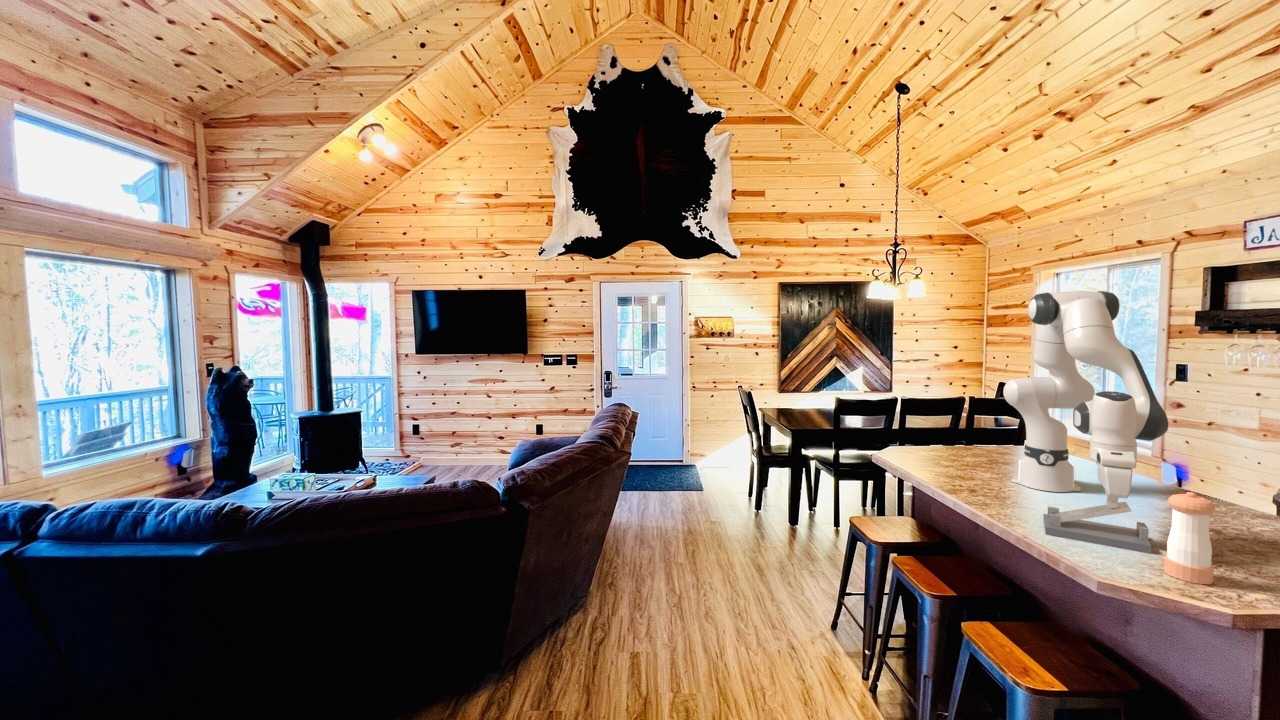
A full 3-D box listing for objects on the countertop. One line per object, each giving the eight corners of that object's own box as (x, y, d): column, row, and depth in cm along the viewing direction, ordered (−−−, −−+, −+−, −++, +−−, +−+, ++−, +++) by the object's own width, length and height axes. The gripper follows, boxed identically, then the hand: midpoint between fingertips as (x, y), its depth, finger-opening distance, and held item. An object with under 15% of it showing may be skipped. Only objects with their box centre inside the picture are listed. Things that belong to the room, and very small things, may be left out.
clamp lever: (1051, 519, 136) (1047, 513, 137) (1128, 507, 127) (1125, 500, 127) (1052, 524, 133) (1048, 518, 133) (1132, 512, 123) (1128, 505, 123)
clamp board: (1043, 520, 140) (1043, 503, 140) (1140, 537, 128) (1141, 518, 128) (1045, 534, 131) (1045, 516, 131) (1151, 553, 119) (1151, 533, 118)
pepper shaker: (1162, 565, 113) (1165, 485, 112) (1210, 575, 108) (1213, 492, 107) (1165, 577, 107) (1168, 493, 106) (1215, 588, 102) (1219, 500, 101)
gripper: (1091, 445, 136) (1090, 493, 137) (1101, 459, 120) (1100, 514, 120) (1122, 448, 132) (1121, 498, 133) (1137, 463, 116) (1136, 519, 117)
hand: (1111, 506), depth 126 cm, fingers closed, pressing on clamp lever
